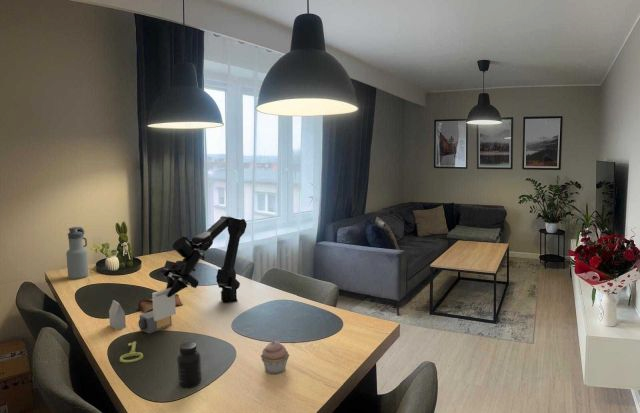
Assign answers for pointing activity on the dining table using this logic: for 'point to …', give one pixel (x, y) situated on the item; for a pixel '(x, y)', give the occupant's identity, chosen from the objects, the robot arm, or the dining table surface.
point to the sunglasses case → (148, 304)
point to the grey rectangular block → (152, 322)
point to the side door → (163, 304)
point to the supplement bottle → (189, 366)
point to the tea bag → (117, 316)
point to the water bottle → (77, 254)
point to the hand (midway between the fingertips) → (166, 296)
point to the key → (131, 354)
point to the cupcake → (274, 357)
